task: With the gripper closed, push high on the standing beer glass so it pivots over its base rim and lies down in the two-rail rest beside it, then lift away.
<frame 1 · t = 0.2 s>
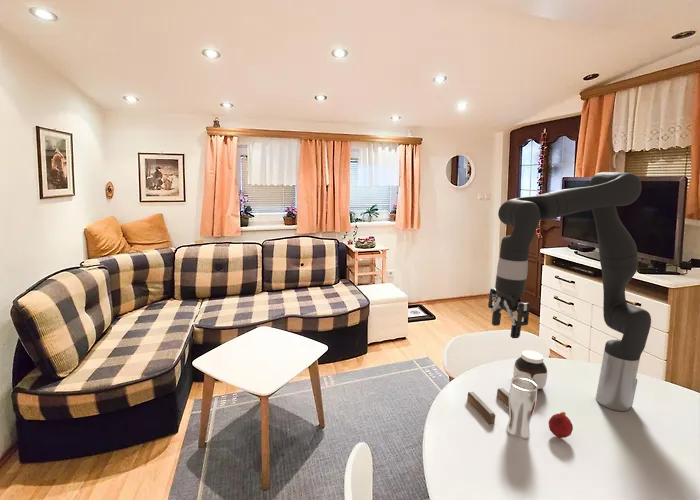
hand: (504, 331, 106), 29 cm above the table, fingers open, 8 cm apart
cradle: (495, 409, 119), on the table
spread jar: (526, 388, 131), on the table
beer glass: (517, 432, 109), on the table
onion: (558, 438, 107), on the table
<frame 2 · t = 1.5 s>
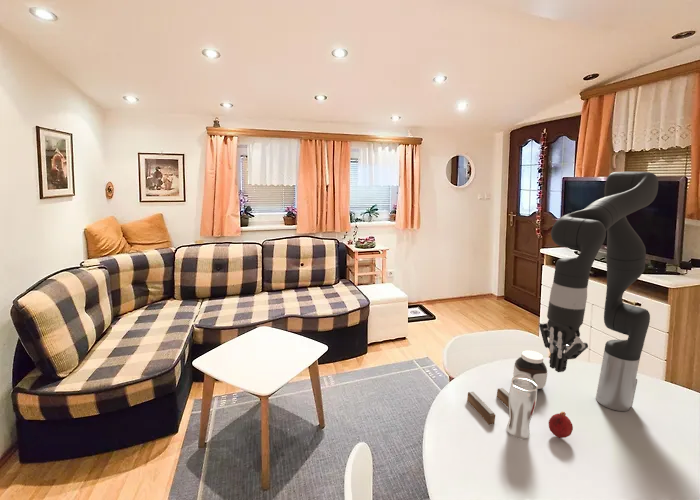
hand: (556, 369, 94), 25 cm above the table, fingers closed
nothing on the table moved.
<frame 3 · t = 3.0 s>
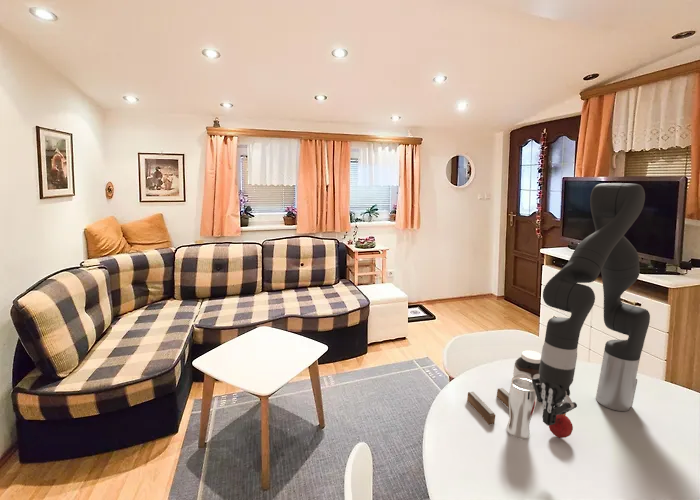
hand: (548, 423, 97), 10 cm above the table, fingers closed
nothing on the table moved.
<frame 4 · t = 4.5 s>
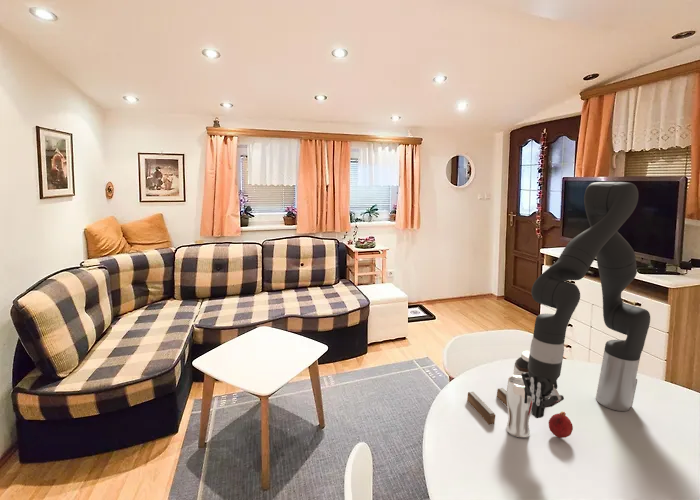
hand: (536, 416, 101), 9 cm above the table, fingers closed
beer glass: (517, 431, 109), on the table, touching hand
everything else where it was.
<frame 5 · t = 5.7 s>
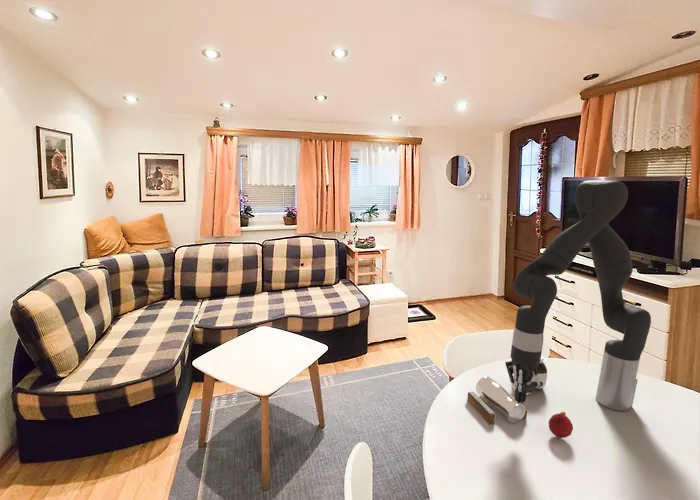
hand: (519, 401, 108), 9 cm above the table, fingers closed
beer glass: (517, 414, 112), point 3 cm above the table, touching cradle
everything else where it was.
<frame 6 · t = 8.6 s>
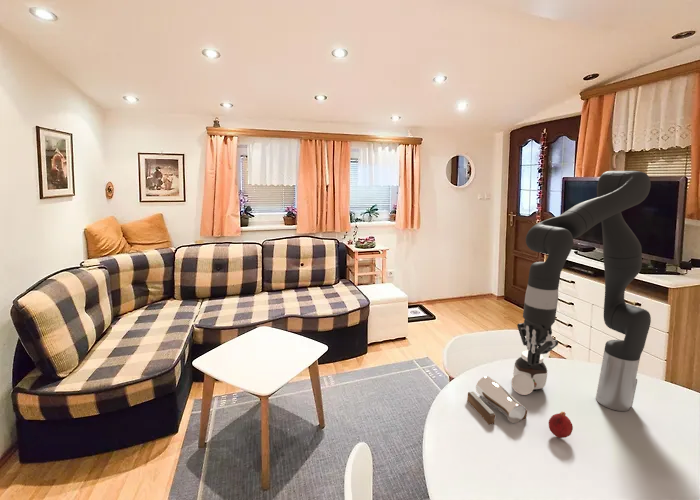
hand: (532, 364, 102), 22 cm above the table, fingers closed
nothing on the table moved.
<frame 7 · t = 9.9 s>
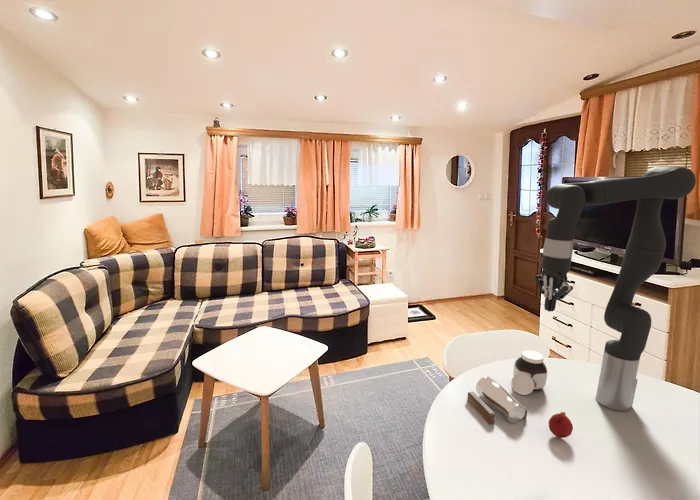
hand: (549, 310, 115), 32 cm above the table, fingers closed
nothing on the table moved.
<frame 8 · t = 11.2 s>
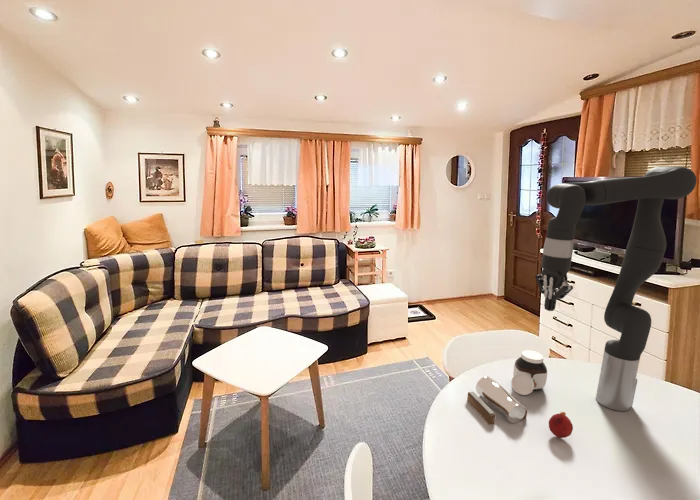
hand: (549, 309, 115), 32 cm above the table, fingers closed
nothing on the table moved.
at the end: beer glass tilted 88°; beer glass inside the target area on the cradle (8.5 cm from its centre), point 3.0 cm above the cradle's base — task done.
